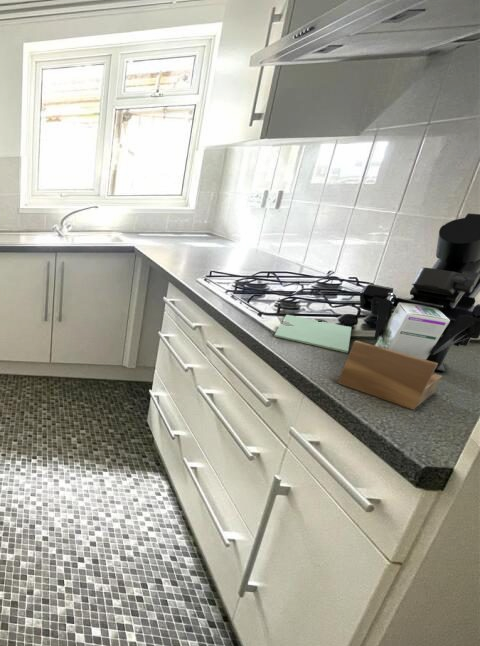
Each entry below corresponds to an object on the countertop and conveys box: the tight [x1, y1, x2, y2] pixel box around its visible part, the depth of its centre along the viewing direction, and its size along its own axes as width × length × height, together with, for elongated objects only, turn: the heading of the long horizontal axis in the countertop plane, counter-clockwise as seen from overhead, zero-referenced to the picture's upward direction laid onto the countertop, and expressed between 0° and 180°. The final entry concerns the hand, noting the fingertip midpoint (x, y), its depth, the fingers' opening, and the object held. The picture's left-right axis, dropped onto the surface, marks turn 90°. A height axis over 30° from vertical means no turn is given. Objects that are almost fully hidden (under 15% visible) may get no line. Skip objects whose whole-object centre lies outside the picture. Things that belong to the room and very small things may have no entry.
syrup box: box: [374, 302, 450, 360], centre depth 77 cm, size 6×6×14 cm
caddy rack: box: [337, 340, 442, 411], centre depth 78 cm, size 10×11×9 cm
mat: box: [273, 314, 352, 354], centre depth 106 cm, size 20×14×1 cm
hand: (402, 345), depth 76 cm, fingers closed on syrup box, 7 cm apart
